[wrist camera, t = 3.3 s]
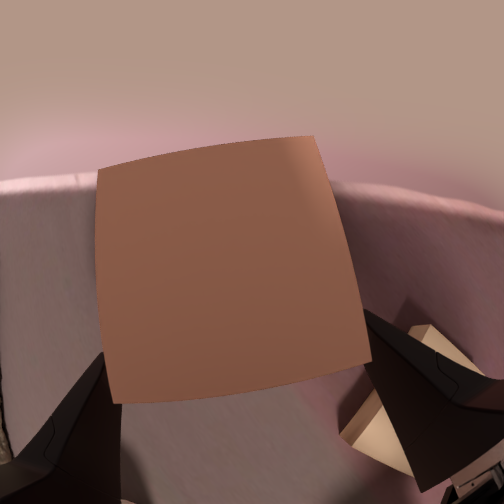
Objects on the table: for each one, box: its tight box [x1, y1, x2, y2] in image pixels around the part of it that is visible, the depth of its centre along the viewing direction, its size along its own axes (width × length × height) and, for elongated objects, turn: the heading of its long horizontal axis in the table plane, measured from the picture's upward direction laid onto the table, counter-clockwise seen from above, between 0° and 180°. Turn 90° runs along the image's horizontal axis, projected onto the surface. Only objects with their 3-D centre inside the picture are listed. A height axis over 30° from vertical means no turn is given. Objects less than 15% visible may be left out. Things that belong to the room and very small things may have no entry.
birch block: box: [339, 324, 485, 478], centre depth 17 cm, size 10×10×3 cm
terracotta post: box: [95, 136, 372, 404], centre depth 13 cm, size 6×6×14 cm
